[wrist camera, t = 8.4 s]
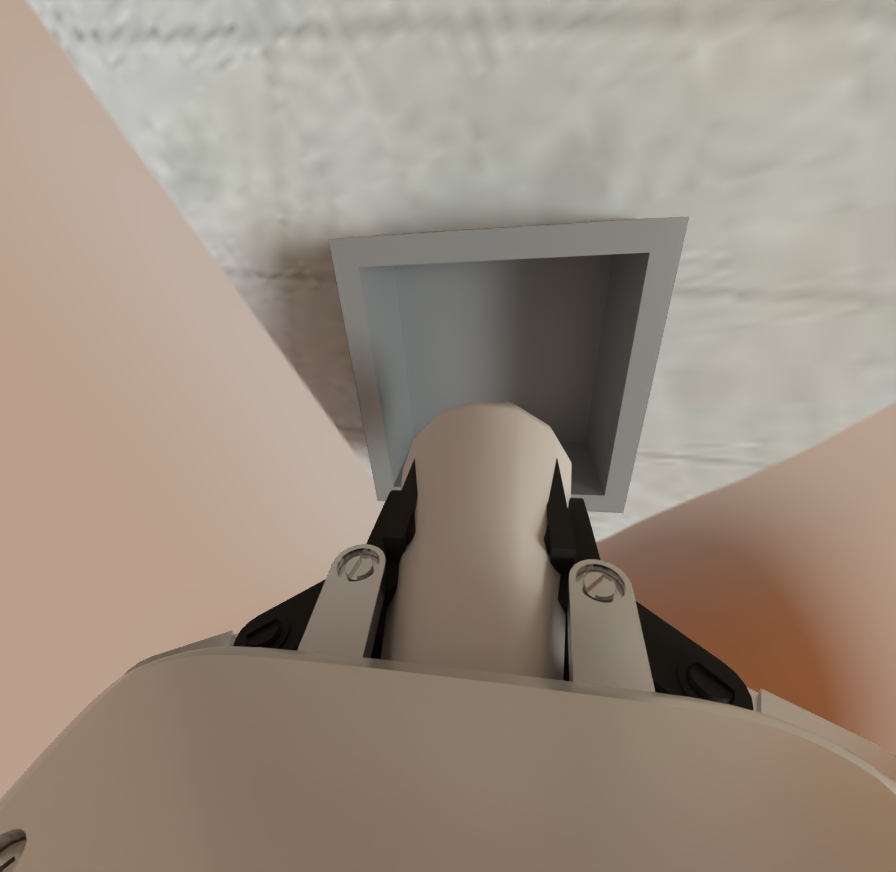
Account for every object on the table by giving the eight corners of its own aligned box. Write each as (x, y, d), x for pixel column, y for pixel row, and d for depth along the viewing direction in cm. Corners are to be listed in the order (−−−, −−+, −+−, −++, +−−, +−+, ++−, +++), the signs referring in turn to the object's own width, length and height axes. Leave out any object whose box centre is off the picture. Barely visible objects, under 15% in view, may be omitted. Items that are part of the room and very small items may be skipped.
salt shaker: (447, 513, 17) (330, 1058, 6) (396, 403, 15) (37, 966, 4) (577, 486, 15) (763, 1180, 4) (543, 358, 13) (757, 1163, 2)
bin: (376, 235, 23) (328, 239, 17) (636, 218, 21) (689, 216, 15) (404, 445, 30) (377, 500, 24) (598, 450, 28) (623, 512, 22)
